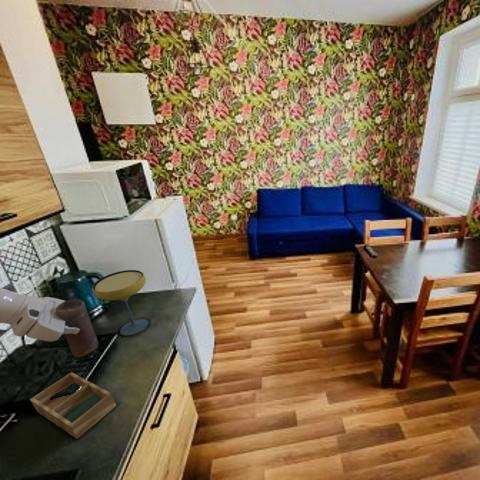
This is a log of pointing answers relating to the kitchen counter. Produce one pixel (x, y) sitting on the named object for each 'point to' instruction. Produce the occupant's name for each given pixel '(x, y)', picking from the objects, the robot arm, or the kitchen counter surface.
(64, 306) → the candle
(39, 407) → the tray
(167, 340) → the kitchen counter surface
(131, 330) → the cocktail glass
